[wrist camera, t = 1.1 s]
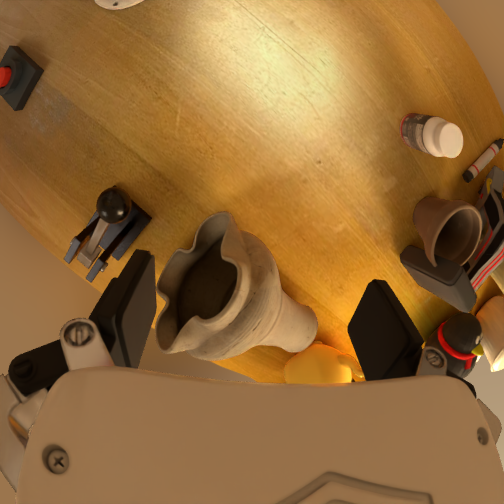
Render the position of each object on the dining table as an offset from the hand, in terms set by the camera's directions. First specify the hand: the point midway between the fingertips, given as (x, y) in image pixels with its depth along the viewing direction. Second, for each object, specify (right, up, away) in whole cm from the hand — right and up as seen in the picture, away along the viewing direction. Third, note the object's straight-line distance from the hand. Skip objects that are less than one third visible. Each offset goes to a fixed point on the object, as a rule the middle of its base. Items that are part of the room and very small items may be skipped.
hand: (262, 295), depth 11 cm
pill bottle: (+24, +21, +22) cm, 39 cm away
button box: (-41, +32, +13) cm, 54 cm away
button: (-41, +31, +10) cm, 52 cm away
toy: (+49, -31, +42) cm, 71 cm away
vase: (-1, -3, +35) cm, 35 cm away
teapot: (+14, -21, +45) cm, 51 cm away
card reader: (+30, -1, +33) cm, 45 cm away
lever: (-17, +5, +16) cm, 24 cm away
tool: (+44, +10, +31) cm, 54 cm away
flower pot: (+30, +8, +29) cm, 43 cm away
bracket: (-22, +6, +28) cm, 36 cm away
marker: (+43, +20, +23) cm, 53 cm away
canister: (+68, -15, +44) cm, 82 cm away
